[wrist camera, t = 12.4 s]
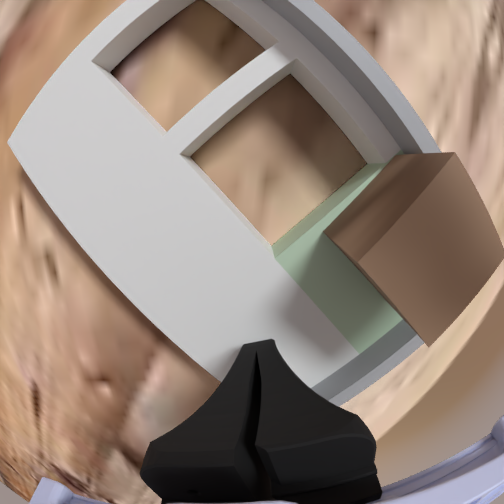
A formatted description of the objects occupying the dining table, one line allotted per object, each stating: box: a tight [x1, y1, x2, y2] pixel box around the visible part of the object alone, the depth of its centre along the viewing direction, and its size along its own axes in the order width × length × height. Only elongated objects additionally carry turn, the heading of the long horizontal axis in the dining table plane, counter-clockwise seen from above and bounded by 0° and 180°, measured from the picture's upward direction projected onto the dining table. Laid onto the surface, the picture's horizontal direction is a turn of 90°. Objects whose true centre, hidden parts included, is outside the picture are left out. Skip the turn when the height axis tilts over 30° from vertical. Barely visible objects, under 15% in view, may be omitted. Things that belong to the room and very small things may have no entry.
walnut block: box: [323, 152, 504, 347], centre depth 9 cm, size 4×4×4 cm
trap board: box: [8, 0, 442, 407], centre depth 11 cm, size 14×21×4 cm, turn 42°
